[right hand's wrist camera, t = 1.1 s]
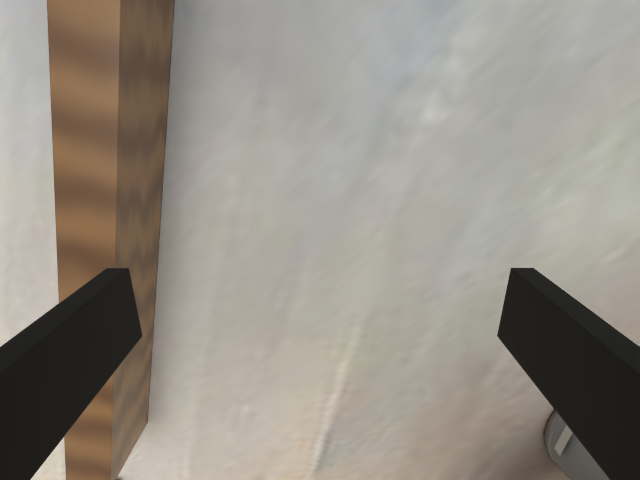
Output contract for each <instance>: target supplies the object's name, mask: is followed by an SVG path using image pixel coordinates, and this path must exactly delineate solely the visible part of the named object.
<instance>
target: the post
mask: <svg viewBox="0 0 640 480" xmlns="http://www.w3.org/2000/svg"><path fill="white" fill-rule="evenodd" d="M47 12H48V37H49V62H50V87H51V112H52V138H53V163H54V188H55V213H56V238H57V263H58V288H59V303H60V302H62V301H63V300H64V299H66V298H67V297H68V296H70V295H71V294H72V293H74V292H75V291H76V290H78V289H79V288H81V287H82V286H83V285H85V284H86V283H87V282H89V281H90V280H91V279H93V278H94V277H95V276H97V275H98V274H99V273H101V272H102V271H103V270H105V269H106V268H129V271H130V276H131V281H132V285H133V290H134V295H135V300H136V305H137V310H138V315H139V320H140V325H141V330H142V335H143V336H142V337H141V339H140V340H139V341H138V343H137V344H136V345H135V346H134V348H133V349H132V350H131V352H130V353H129V354H128V355H127V357H126V358H125V359H124V360H123V362H122V363H121V364H120V366H119V367H118V368H117V369H116V371H115V372H114V373H113V375H112V376H111V377H110V378H109V380H108V381H107V382H106V383H105V385H104V386H103V387H102V389H101V390H100V391H99V392H98V394H97V395H96V396H95V398H94V399H93V400H92V401H91V403H90V404H89V405H88V406H87V408H86V409H85V410H84V412H83V413H82V414H81V415H80V417H79V418H78V419H77V421H76V422H75V423H74V424H73V426H72V427H71V428H70V429H69V431H68V432H67V433H66V435H65V436H64V439H65V464H66V480H116V478H117V476H118V474H119V473H120V471H121V469H122V467H123V465H124V464H125V462H126V460H127V458H128V456H129V455H130V453H131V451H132V449H133V447H134V446H135V444H136V442H137V440H138V438H139V437H140V435H141V433H142V431H143V430H144V428H145V426H146V424H147V421H148V405H149V389H150V374H151V358H152V343H153V327H154V312H155V296H156V281H157V265H158V249H159V234H160V218H161V203H162V187H163V172H164V156H165V140H166V125H167V109H168V94H169V78H170V63H171V47H172V32H173V16H174V0H47Z"/></svg>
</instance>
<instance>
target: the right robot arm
mask: <svg viewBox="0 0 640 480" xmlns="http://www.w3.org/2000/svg"><path fill="white" fill-rule="evenodd" d="M142 336H143V335H142V330H141V325H140V320H139V315H138V310H137V305H136V300H135V295H134V290H133V285H132V281H131V276H130V271H129V268H106V269H105V270H103V271H102V272H101V273H99V274H98V275H97V276H95V277H94V278H93V279H91V280H90V281H89V282H87V283H86V284H85V285H83V286H82V287H81V288H79V289H78V290H76V291H75V292H74V293H72V294H71V295H70V296H68V297H67V298H66V299H64V300H63V301H62V302H60V303H59V304H58V305H56V306H55V307H54V308H52V309H51V310H50V311H48V312H47V313H46V314H44V315H43V316H41V317H40V318H39V319H37V320H36V321H35V322H33V323H32V324H31V325H29V326H28V327H27V328H25V329H24V330H23V331H21V332H20V333H19V334H17V335H16V336H15V337H13V338H12V339H11V340H9V341H8V342H7V343H5V344H4V345H2V346H1V347H0V480H30V479H31V478H32V477H33V475H34V474H35V473H36V472H37V470H38V469H39V468H40V467H41V465H42V464H43V463H44V461H45V460H46V459H47V458H48V456H49V455H50V454H51V452H52V451H53V450H54V449H55V447H56V446H57V445H58V444H59V442H60V441H61V440H62V438H63V437H64V436H65V435H66V433H67V432H68V431H69V429H70V428H71V427H72V426H73V424H74V423H75V422H76V421H77V419H78V418H79V417H80V415H81V414H82V413H83V412H84V410H85V409H86V408H87V406H88V405H89V404H90V403H91V401H92V400H93V399H94V398H95V396H96V395H97V394H98V392H99V391H100V390H101V389H102V387H103V386H104V385H105V383H106V382H107V381H108V380H109V378H110V377H111V376H112V375H113V373H114V372H115V371H116V369H117V368H118V367H119V366H120V364H121V363H122V362H123V360H124V359H125V358H126V357H127V355H128V354H129V353H130V352H131V350H132V349H133V348H134V346H135V345H136V344H137V343H138V341H139V340H140V339H141V337H142ZM497 336H498V337H499V339H500V340H501V341H502V343H503V344H504V345H505V346H506V348H507V349H508V350H509V352H510V353H511V354H512V355H513V357H514V358H515V359H516V360H517V362H518V363H519V364H520V366H521V367H522V368H523V369H524V371H525V372H526V373H527V375H528V376H529V377H530V378H531V380H532V381H533V382H534V383H535V385H536V386H537V387H538V389H539V390H540V391H541V392H542V394H543V395H544V396H545V398H546V399H547V400H548V401H549V403H550V404H551V405H552V406H553V408H554V409H555V412H554V413H553V414H552V416H551V417H550V419H549V421H548V423H547V426H546V429H545V433H544V442H545V447H546V449H547V451H548V453H549V455H550V456H551V458H552V459H553V461H554V462H555V464H556V465H557V466H558V467H559V469H560V470H561V471H562V472H563V473H564V474H565V475H566V476H567V477H568V478H570V479H571V480H640V346H638V345H636V344H635V343H633V342H632V341H631V340H629V339H628V338H627V337H625V336H624V335H623V334H621V333H620V332H619V331H617V330H616V329H615V328H613V327H612V326H611V325H609V324H608V323H607V322H605V321H604V320H603V319H601V318H600V317H599V316H597V315H596V314H594V313H593V312H592V311H590V310H589V309H588V308H586V307H585V306H584V305H582V304H581V303H580V302H578V301H577V300H576V299H574V298H573V297H572V296H570V295H569V294H568V293H566V292H565V291H564V290H562V289H561V288H559V287H558V286H557V285H555V284H554V283H553V282H551V281H550V280H549V279H547V278H546V277H545V276H543V275H542V274H541V273H539V272H538V271H537V270H535V269H534V268H511V271H510V276H509V281H508V285H507V290H506V295H505V300H504V305H503V310H502V315H501V320H500V325H499V330H498V335H497Z"/></svg>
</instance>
